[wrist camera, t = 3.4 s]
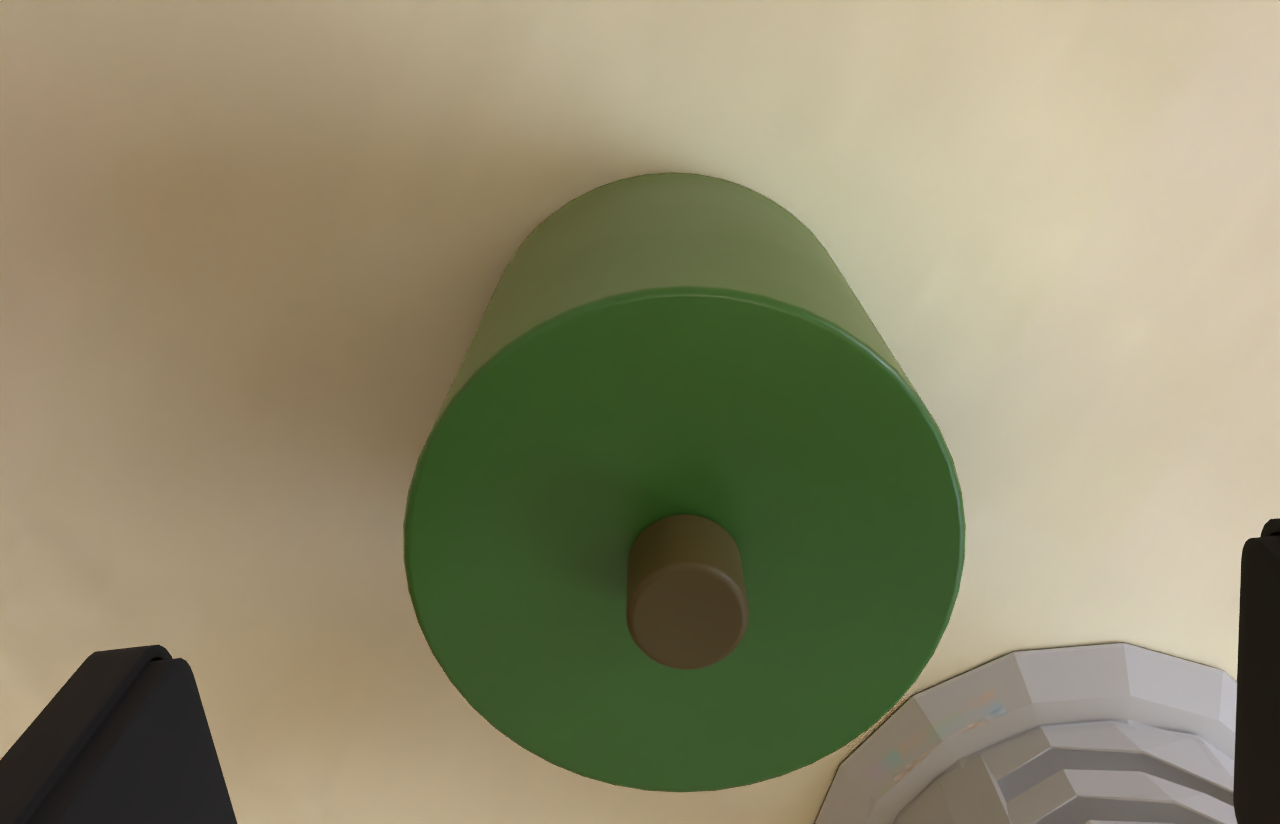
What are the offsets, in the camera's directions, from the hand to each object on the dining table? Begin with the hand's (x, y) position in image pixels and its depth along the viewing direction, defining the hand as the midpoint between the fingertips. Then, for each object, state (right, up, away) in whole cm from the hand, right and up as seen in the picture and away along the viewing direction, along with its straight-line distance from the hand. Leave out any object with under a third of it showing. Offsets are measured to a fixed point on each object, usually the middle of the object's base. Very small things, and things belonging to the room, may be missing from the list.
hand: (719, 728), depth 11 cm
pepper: (0, +4, +9) cm, 9 cm away
